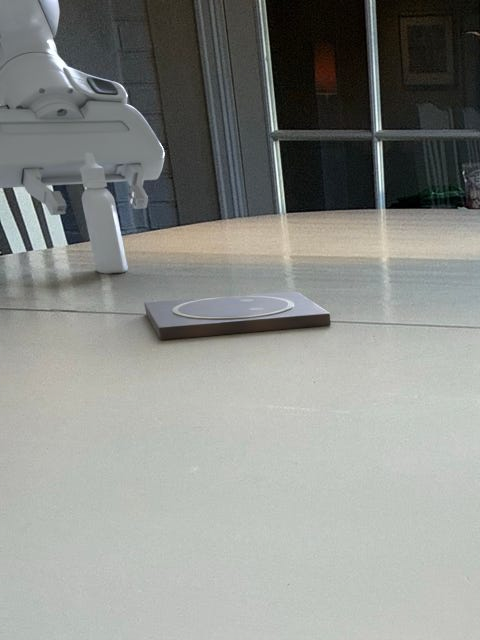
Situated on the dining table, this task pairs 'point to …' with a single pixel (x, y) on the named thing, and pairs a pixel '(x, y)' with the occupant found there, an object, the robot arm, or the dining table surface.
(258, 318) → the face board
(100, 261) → the eye dropper bottle
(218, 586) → the dining table surface
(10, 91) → the robot arm
